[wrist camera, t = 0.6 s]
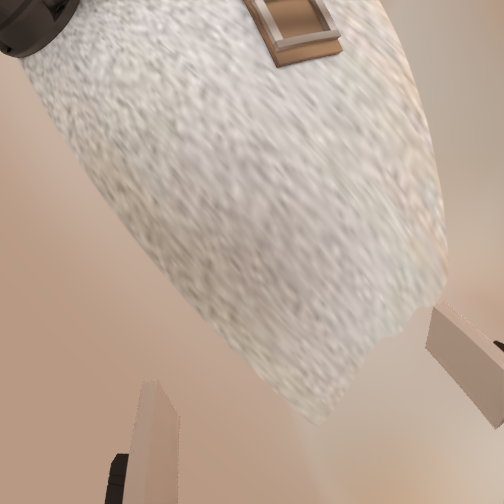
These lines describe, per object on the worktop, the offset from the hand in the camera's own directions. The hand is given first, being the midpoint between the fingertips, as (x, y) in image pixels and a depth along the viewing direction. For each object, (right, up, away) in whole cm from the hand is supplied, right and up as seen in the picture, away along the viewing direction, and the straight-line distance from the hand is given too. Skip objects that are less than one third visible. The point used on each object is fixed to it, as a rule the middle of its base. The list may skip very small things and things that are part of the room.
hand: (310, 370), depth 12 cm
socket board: (+2, +35, +16) cm, 38 cm away
